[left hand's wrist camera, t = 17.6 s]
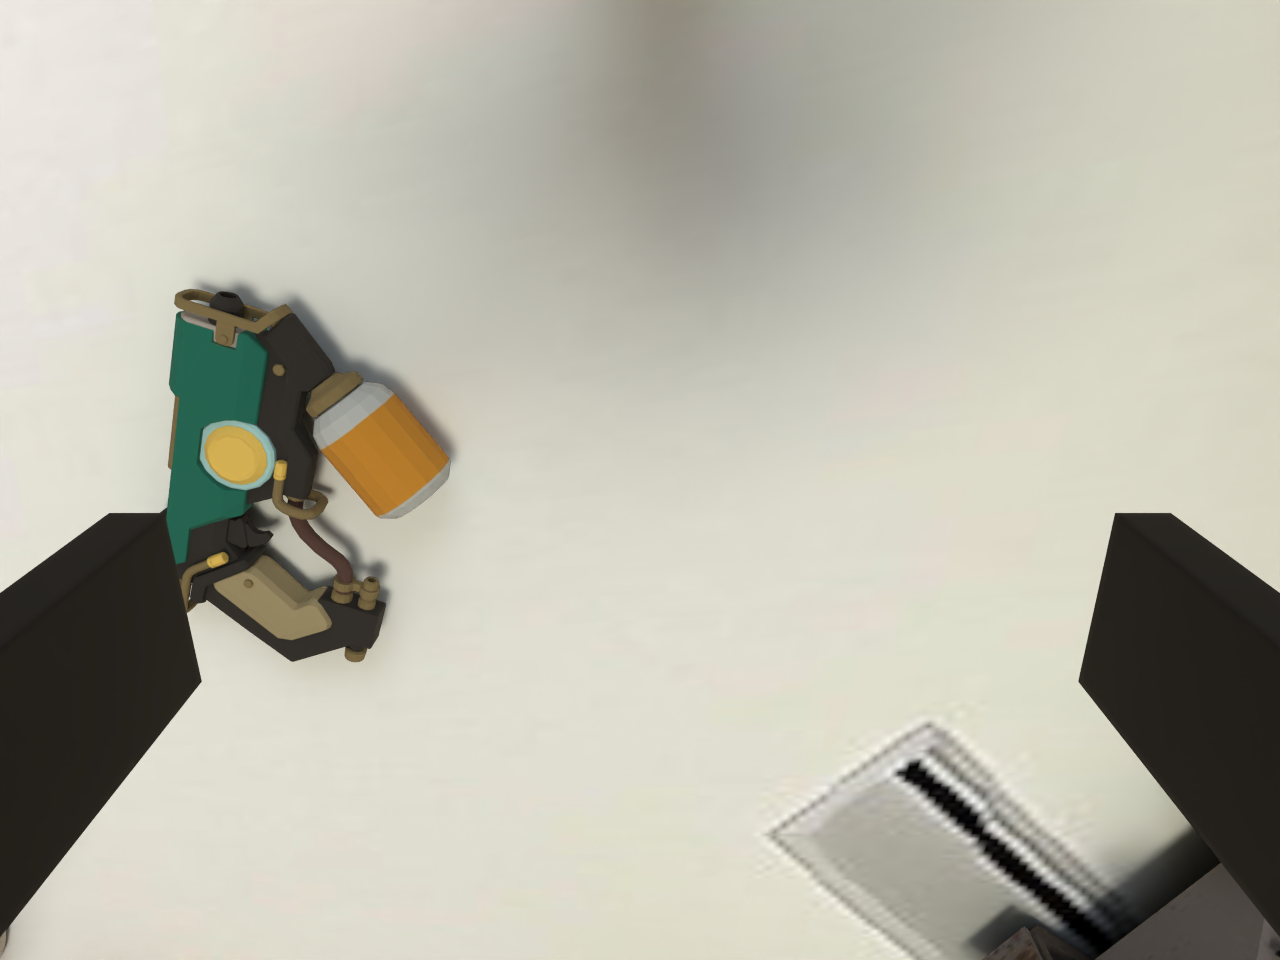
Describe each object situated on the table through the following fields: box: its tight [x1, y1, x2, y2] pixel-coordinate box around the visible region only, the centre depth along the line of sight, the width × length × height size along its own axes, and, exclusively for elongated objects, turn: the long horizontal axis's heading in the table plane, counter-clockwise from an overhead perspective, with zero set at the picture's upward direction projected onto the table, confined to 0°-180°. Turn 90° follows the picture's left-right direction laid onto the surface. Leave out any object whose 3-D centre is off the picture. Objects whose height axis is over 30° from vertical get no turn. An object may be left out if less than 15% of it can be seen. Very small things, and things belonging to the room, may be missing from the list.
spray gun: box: [160, 289, 450, 662], centre depth 42 cm, size 4×17×15 cm
